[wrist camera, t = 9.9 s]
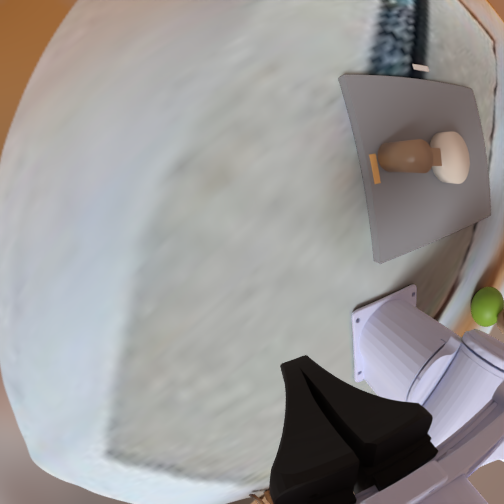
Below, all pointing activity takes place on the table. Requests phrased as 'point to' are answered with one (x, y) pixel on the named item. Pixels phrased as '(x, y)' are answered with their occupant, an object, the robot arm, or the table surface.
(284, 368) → the robot arm
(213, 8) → the table surface
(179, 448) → the table surface
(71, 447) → the table surface
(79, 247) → the table surface
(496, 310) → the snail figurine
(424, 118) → the stud board
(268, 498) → the lion figurine
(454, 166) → the brown white rounded rod
